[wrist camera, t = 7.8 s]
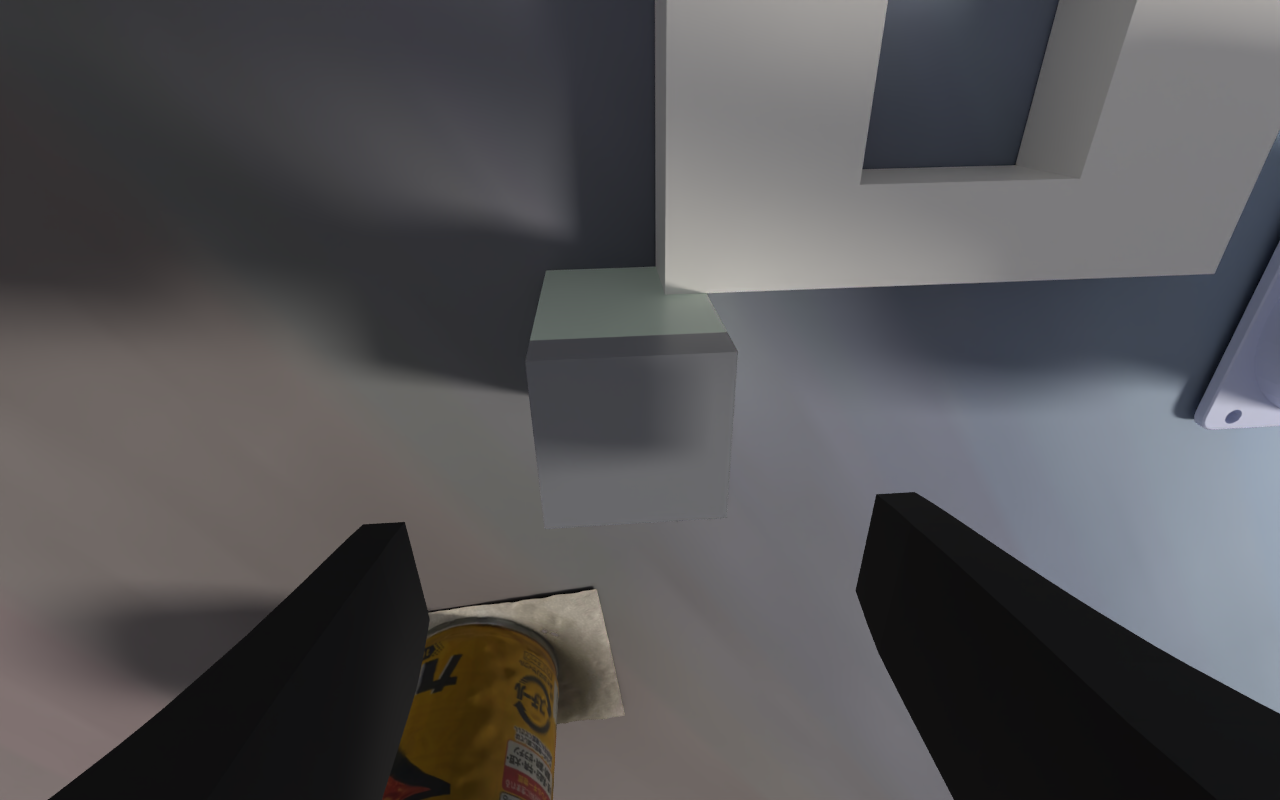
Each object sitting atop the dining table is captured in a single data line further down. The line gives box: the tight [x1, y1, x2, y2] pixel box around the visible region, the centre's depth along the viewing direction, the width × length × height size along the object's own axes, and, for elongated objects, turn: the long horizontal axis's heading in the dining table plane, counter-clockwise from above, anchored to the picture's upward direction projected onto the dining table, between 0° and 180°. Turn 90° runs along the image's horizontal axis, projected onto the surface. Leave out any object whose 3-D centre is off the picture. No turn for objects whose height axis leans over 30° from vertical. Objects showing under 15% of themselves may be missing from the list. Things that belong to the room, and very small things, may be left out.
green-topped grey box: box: [525, 267, 738, 529], centre depth 15 cm, size 4×4×6 cm
